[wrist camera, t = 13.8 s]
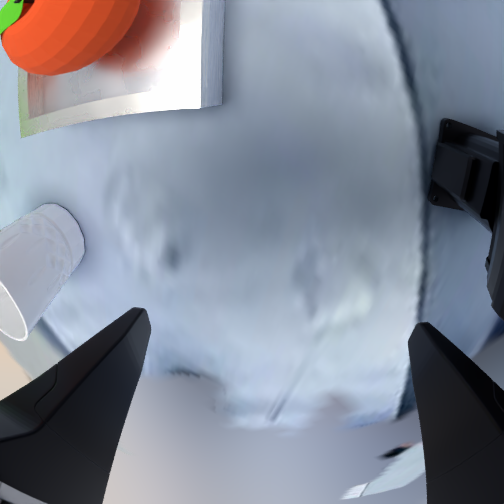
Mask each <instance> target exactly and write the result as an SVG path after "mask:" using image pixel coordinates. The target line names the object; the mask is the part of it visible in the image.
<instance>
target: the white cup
mask: <svg viewBox="0 0 504 504" xmlns="http://www.w3.org/2000/svg"><path fill="white" fill-rule="evenodd" d="M84 253H85V248H84V237H83V235H82V232H81V230H80V228H79V225H78V223H77V222H76V220H75V219H74V218H73V217H72V216H71V214H70V213H69V212H68V211H67V210H66V209H64V208H62V207H61V206H59V205H57V204H43V205H42V206H40V207H38V208H37V209H35V210H33V211H32V212H30V213H29V214H27V215H25V216H22V217H20V218H19V219H17V220H15V221H14V222H12V223H11V224H9V225H7V226H6V227H4V228H3V229H1V230H0V331H2V332H3V333H4V334H6V335H7V336H9V337H10V338H12V339H15V340H17V341H25V340H26V339H27V338H28V336H29V335H30V333H31V331H32V330H33V328H34V327H35V325H36V324H37V322H38V321H39V319H40V318H41V316H42V315H43V314H44V312H45V311H46V309H47V308H48V306H49V305H50V304H51V302H52V301H53V300H54V298H55V297H56V295H57V294H58V292H59V291H60V289H61V288H62V287H63V285H64V284H65V283H66V281H67V280H68V278H69V276H70V274H71V273H72V272H73V271H74V270H75V268H76V267H77V266H78V265H79V264H80V262H81V260H82V257H83V255H84Z"/></svg>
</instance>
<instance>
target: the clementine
mask: <svg viewBox="0 0 504 504" xmlns="http://www.w3.org/2000/svg"><path fill="white" fill-rule="evenodd" d="M140 1H141V0H8V1H7V4H6V5H5V6H4V7H3V8H2V9H1V11H0V35H1V41H2V46H3V48H4V49H5V51H6V53H7V55H8V56H9V58H10V60H11V61H12V62H13V63H14V64H16V65H17V66H18V67H20V68H22V69H23V70H25V71H27V72H28V73H33V74H40V75H48V76H54V75H59V74H64V73H69V72H73V71H77V70H79V69H81V68H83V67H86V66H88V65H90V64H92V63H93V62H95V61H96V60H98V59H99V58H101V57H102V56H103V55H105V54H106V53H108V52H109V51H111V50H112V48H113V47H114V46H115V45H116V44H117V43H118V42H119V41H120V40H121V39H122V38H123V37H124V35H125V34H126V32H127V31H128V30H129V28H130V27H131V25H132V23H133V21H134V19H135V17H136V15H137V13H138V9H139V5H140Z"/></svg>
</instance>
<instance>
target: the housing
mask: <svg viewBox="0 0 504 504" xmlns="http://www.w3.org/2000/svg"><path fill="white" fill-rule="evenodd" d="M224 13H225V0H141V1H140V5H139V9H138V13H137V15H136V17H135V19H134V21H133V23H132V25H131V27H130V28H129V30H128V31H127V32H126V34H125V35H124V37H123V38H122V39H121V40H120V41H119V42H118V43H117V44H116V45H115V46H114V47H113V48H112V50H111V51H109V52H108V53H106V54H105V55H103V56H102V57H101V58H99V59H98V60H96V61H95V62H93V63H92V64H90V65H88V66H86V67H83V68H81V69H79V70H77V71H73V72H69V73H64V74H59V75H54V76H48V75H40V74H33V73H28V72H27V71H25V70H23V69H22V68H20V67H18V102H19V119H20V131H21V138H23V137H26V136H30V135H33V134H36V133H40V132H44V131H47V130H51V129H55V128H59V127H63V126H67V125H72V124H76V123H81V122H86V121H91V120H96V119H102V118H108V117H114V116H120V115H127V114H135V113H143V112H152V111H162V110H174V109H189V108H203V107H210V106H216V105H222V84H223V40H224Z"/></svg>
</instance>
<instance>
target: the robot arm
mask: <svg viewBox="0 0 504 504" xmlns="http://www.w3.org/2000/svg"><path fill="white" fill-rule="evenodd" d="M447 123H449V127H448V128H447ZM431 177H432V180H431V185H430V190H429V194H428V201H429V202H430V203H431V204H433V205H436V206H442V207H448V208H453V209H459V210H464V211H466V212H468V213H469V214H470V215H471V216H472V217H474V218H475V219H476V220H477V221H478V222H479V223H481V224H482V225H483V226H484V227H485V228H486V229H487V230H488V231H490V232H491V233H492V239H491V245H490V250H489V255H488V257H487V258H486V263H485V267H486V270H487V272H488V275H487V288H488V291H489V294H490V296H491V299H492V304H491V306H492V308H493V309H494V310H495V312H496V313H497V314H498V316H499V317H500V318H501V319H502V320H504V130H497V137H495V136H493V135H490V134H488V133H486V132H483V131H481V130H478V129H476V128H473V127H471V126H468V125H465V124H463V123H460V122H457V121H454V120H451V119H448V118H444V119H443V120H442V121H441V127H440V135H439V142H438V145H437V148H436V154H435V160H434V165H433V171H432V176H431ZM434 196H436V198H435V199H434V200H433V197H434ZM150 334H151V325H150V321H149V318H148V314H147V311H146V310H145V309H144V308H138V307H133V308H132V309H130V310H129V311H127V312H126V313H125V314H123V315H122V316H120V317H119V318H118V319H116V320H115V321H114V322H112V323H111V324H109V325H108V326H107V327H105V328H104V329H103V330H101V331H100V332H98V333H97V334H96V335H94V336H93V337H92V338H90V339H89V340H88V341H86V342H85V343H83V344H82V345H81V346H79V347H78V348H77V349H75V350H74V351H73V352H71V353H70V354H69V355H67V356H66V357H65V358H63V359H62V360H61V361H59V362H58V364H55V365H54V366H53V367H51V368H50V369H49V370H47V371H46V372H44V373H43V374H42V375H40V376H39V377H37V378H36V379H34V380H33V381H31V382H30V383H28V384H27V385H25V386H24V387H22V388H20V389H19V390H17V391H16V392H14V393H12V394H11V395H9V396H7V397H6V398H4V399H2V400H1V401H0V504H102V503H103V499H104V494H105V491H106V486H107V482H108V479H109V475H110V474H109V473H110V471H111V467H112V463H113V460H114V456H115V452H116V449H117V446H118V443H119V439H120V436H121V433H122V429H123V426H124V423H125V420H126V417H127V413H128V410H129V407H130V404H131V401H132V398H133V395H134V392H135V389H136V386H137V383H138V381H139V378H140V375H141V371H142V368H143V363H144V359H145V355H146V350H147V346H148V342H149V338H150ZM408 349H409V356H410V364H411V373H412V381H413V387H414V392H415V397H416V403H417V408H418V414H419V420H420V427H421V434H422V441H423V450H424V459H425V470H426V483H427V484H426V486H427V504H504V391H503V390H502V389H501V388H500V387H499V386H498V385H497V384H496V383H495V382H494V381H493V380H492V379H491V378H490V377H489V376H488V375H487V374H486V373H485V372H483V370H481V369H480V368H479V367H478V366H477V365H476V364H475V363H474V362H473V361H472V360H471V359H470V358H469V357H467V356H466V355H465V354H464V353H463V352H462V351H461V350H460V349H459V348H457V347H456V346H455V345H454V344H453V343H452V342H451V341H450V340H448V339H447V338H446V337H445V336H444V335H443V334H442V333H440V332H439V331H438V330H437V329H436V328H435V327H433V326H432V325H431V324H430V323H428V322H419V323H417V324H416V326H415V328H414V330H413V332H412V334H411V336H410V338H409V340H408Z"/></svg>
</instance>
